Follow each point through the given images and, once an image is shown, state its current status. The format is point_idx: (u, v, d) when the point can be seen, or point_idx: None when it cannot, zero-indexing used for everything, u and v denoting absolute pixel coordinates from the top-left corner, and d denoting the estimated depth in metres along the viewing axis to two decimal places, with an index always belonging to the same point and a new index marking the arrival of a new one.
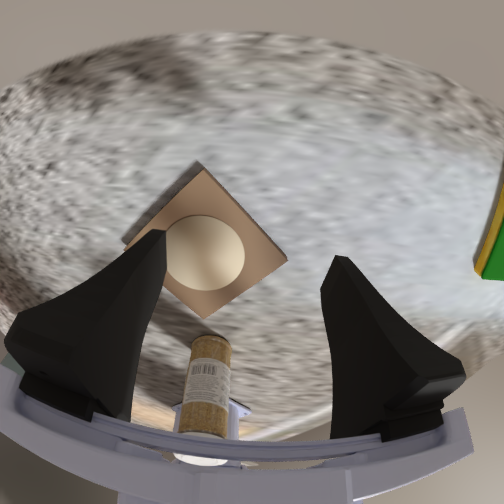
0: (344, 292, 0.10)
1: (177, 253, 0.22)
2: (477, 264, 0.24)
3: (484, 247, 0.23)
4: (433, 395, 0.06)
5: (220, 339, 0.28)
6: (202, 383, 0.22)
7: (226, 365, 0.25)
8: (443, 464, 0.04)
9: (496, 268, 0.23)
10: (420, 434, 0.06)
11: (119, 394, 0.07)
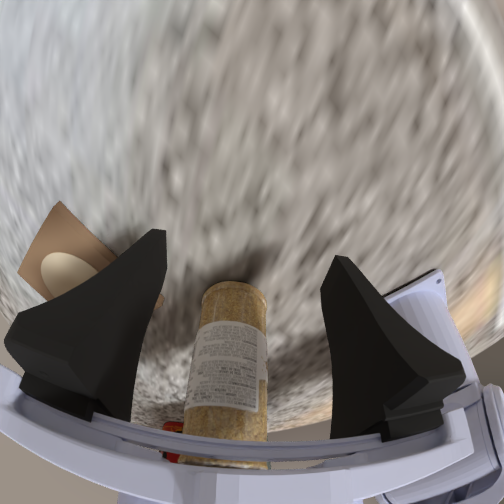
0: (344, 292, 0.10)
1: None
2: None
3: None
4: (433, 395, 0.06)
5: (205, 293, 0.18)
6: None
7: (211, 323, 0.15)
8: (443, 464, 0.04)
9: None
10: (420, 434, 0.06)
11: (119, 394, 0.07)
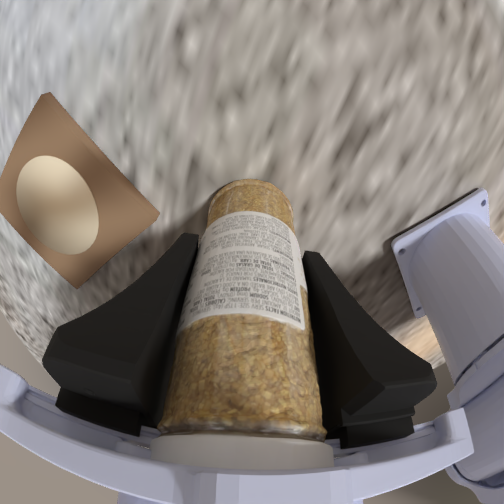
0: (311, 288, 0.10)
1: (60, 235, 0.15)
2: None
3: None
4: (398, 402, 0.05)
5: (214, 197, 0.14)
6: None
7: (223, 216, 0.11)
8: (443, 464, 0.04)
9: None
10: (387, 442, 0.06)
11: (161, 404, 0.07)
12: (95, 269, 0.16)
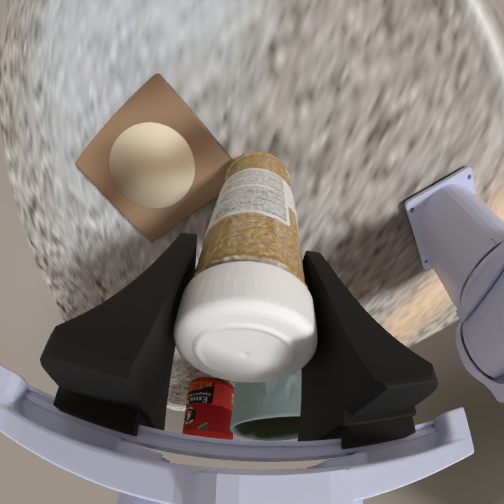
0: (312, 288, 0.10)
1: (150, 191, 0.20)
2: None
3: None
4: (399, 401, 0.05)
5: (229, 167, 0.18)
6: None
7: (236, 172, 0.15)
8: (443, 464, 0.04)
9: None
10: (389, 442, 0.06)
11: (159, 403, 0.07)
12: (178, 221, 0.22)
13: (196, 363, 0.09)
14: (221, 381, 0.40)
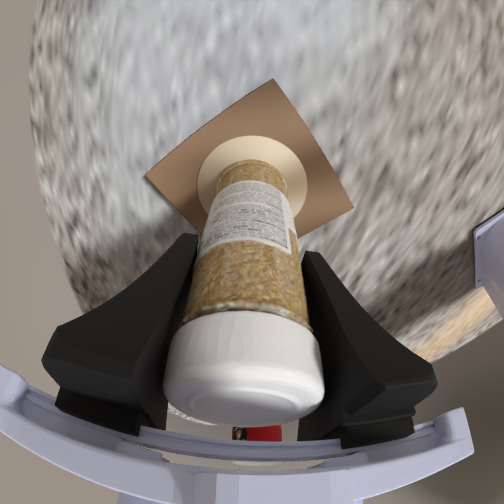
0: (312, 288, 0.10)
1: None
2: None
3: None
4: (399, 401, 0.05)
5: (220, 177, 0.16)
6: None
7: (228, 185, 0.13)
8: (443, 464, 0.04)
9: None
10: (388, 442, 0.06)
11: (160, 404, 0.07)
12: None
13: (190, 413, 0.07)
14: None
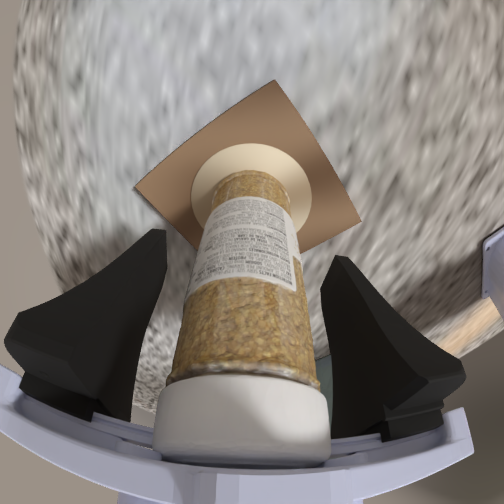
0: (344, 292, 0.10)
1: None
2: None
3: None
4: (433, 395, 0.06)
5: (216, 189, 0.15)
6: None
7: (224, 202, 0.12)
8: (443, 464, 0.04)
9: None
10: (420, 434, 0.06)
11: (119, 394, 0.07)
12: None
13: None
14: None
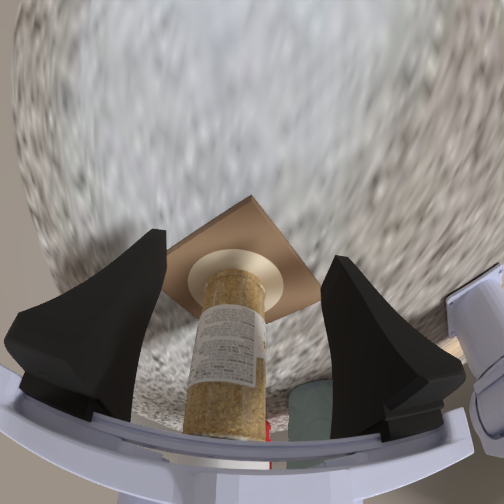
0: (344, 292, 0.10)
1: None
2: None
3: None
4: (433, 395, 0.06)
5: (207, 282, 0.19)
6: None
7: (212, 307, 0.16)
8: (443, 464, 0.04)
9: None
10: (420, 434, 0.06)
11: (119, 394, 0.07)
12: None
13: None
14: None
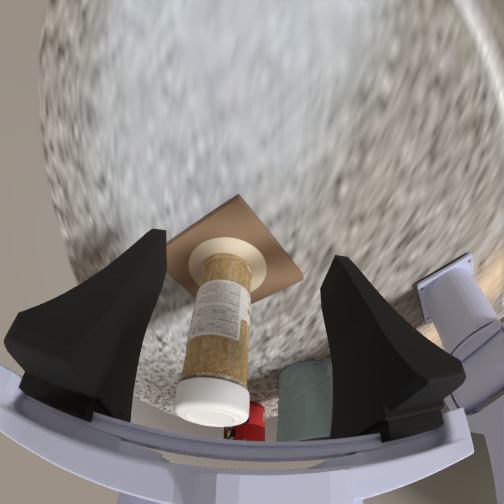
0: (344, 292, 0.10)
1: None
2: None
3: None
4: (433, 395, 0.06)
5: (204, 264, 0.24)
6: None
7: (207, 282, 0.21)
8: (443, 464, 0.04)
9: None
10: (420, 434, 0.06)
11: (119, 394, 0.07)
12: None
13: (186, 419, 0.15)
14: (254, 403, 0.46)
